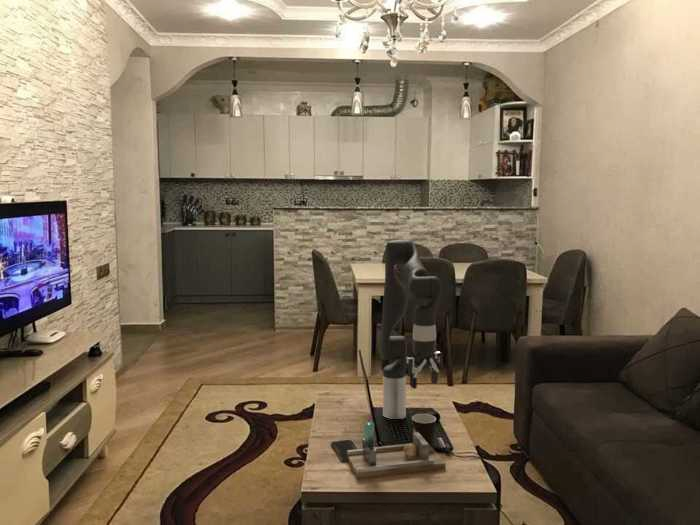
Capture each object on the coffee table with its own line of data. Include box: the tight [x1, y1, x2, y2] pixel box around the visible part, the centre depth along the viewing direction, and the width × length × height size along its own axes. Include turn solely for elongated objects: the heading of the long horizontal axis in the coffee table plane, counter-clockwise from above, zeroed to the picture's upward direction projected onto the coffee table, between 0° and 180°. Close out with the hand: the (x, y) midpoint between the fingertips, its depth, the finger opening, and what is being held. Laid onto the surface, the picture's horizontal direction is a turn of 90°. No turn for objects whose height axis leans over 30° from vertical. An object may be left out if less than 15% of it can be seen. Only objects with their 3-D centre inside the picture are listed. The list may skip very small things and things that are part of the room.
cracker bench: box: [347, 432, 446, 480], centre depth 201 cm, size 15×30×8 cm, turn 103°
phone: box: [330, 439, 358, 463], centre depth 211 cm, size 8×1×15 cm
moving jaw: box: [362, 421, 376, 466], centre depth 198 cm, size 10×3×13 cm, turn 13°
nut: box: [404, 442, 417, 459], centre depth 202 cm, size 4×4×4 cm
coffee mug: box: [411, 413, 437, 445], centre depth 217 cm, size 12×9×10 cm
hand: (423, 385), depth 196 cm, fingers open, 8 cm apart
